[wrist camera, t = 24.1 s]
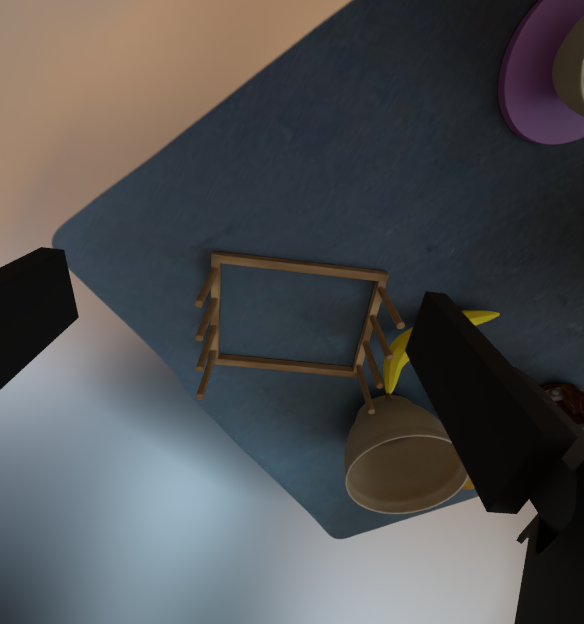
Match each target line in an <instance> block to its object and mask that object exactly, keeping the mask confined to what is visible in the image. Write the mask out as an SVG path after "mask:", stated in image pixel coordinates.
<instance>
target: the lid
mask: <svg viewBox="0 0 584 624" xmlns="http://www.w3.org/2000/svg"><path fill="white" fill-rule="evenodd" d="M583 15H584V0H538V1H537V2H536V4H535V5H534V6H533V7H532V8H531V9H530V10H529V12H528V13H527V14H526V15H525V17H524V18H523V19H522V21H521V22H520V24H519V26H518V27H517V29H516V30H515V32H514V34H513V36H512V38H511V40H510V42H509V44H508V47H507V49H506V51H505V54H504V57H503V61H502V64H501V68H500V73H499V80H498V99H499V106H500V109H501V113H502V116H503V118H504V120H505V122H506V124H507V125H508V126H509V128H510V129H511V130H512V131H513V132H514V133H515V134H516V135H517V136H519V137H520V138H522V139H524V140H526V141H529V142H532V143H537V144H548V145H556V144H564V143H568V142H572V141H575V140H578V139H580V138H583V137H584V117H583V116H581V115H579V114H577V113H576V112H574V111H573V110H571V109H570V108H569V107H568V106H567V105H566V104H565V103H564V102H563V101H562V100H561V98H560V97H559V96H558V94H557V92H556V90H555V88H554V85H553V81H552V66H553V62H554V59H555V56H556V53H557V51H558V49H559V47H560V46H561V44H562V42H563V41H564V39H565V37H566V36H567V35H568V33H569V32H570V30H571V29H572V28H573V27H574V25H575V24H576V23H577V22H578V21H579V20H580V18H581V17H582V16H583Z"/></svg>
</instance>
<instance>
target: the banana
mask: <svg viewBox="0 0 584 624" xmlns="http://www.w3.org/2000/svg"><path fill="white" fill-rule="evenodd" d="M462 312H463V313H464V314H465V315H466V316H467V317H468V319H469V320H470V321H471V322H472V323H473V324H474V325H475V326H476V325H478V324H481V323H483V322H486V321H489V320H491V319H494V318H495V317H497V316H499V315H500V313H497V312H492V311H482V310H463V311H462ZM412 329H413V327H412V328H410V329H408V330H407V331H405V332H404V333H402V334H401V335H399V336H398V337H397V338H396V339H395V340H394V341H393V342H392V343H391V345H390V350H391V352H392V354H393V356H394V357H393V359H392V360H390V361H389V360H387V359H386V357H384V361H383V382H384V387H385V390H386V393H387V395H386V397H385V398H386V400H388V401H390V399H391V397H390V394H391V393H392V392H393V390H394V388H395V386H396V383H397V380H398V377H399V374H400V372H401V369H402V367H403V366H404V365H405V364H406V363H407V362H408V361H409V358H408V356H407V354H406V352H405V348H406V345H407V343H408V340H409V337H410V334H411V332H412Z"/></svg>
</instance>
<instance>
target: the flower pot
mask: <svg viewBox="0 0 584 624" xmlns="http://www.w3.org/2000/svg"><path fill="white" fill-rule="evenodd" d="M552 81H553V85H554V88H555V90H556V92H557V94H558V96H559V97H560V98H561V100H562V101H563V102H564V103H565V104H566V105H567V106H568V107H569V108H570V109H571V110H573V111H574V112H576V113H577V114H579V115H581V116H583V117H584V15H583V16H582V17H581V18H580V20H579V21H578V22H577V23H576V24H575V25H574V27H573V28H572V29H571V30H570V32H569V33H568V35H567V36H566V37H565V39H564V41H563V42H562V44H561V46H560V47H559V49H558V51H557V53H556V56H555V59H554V62H553V66H552Z"/></svg>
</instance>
